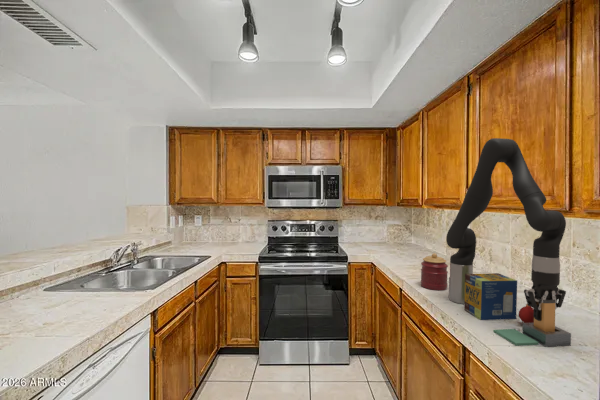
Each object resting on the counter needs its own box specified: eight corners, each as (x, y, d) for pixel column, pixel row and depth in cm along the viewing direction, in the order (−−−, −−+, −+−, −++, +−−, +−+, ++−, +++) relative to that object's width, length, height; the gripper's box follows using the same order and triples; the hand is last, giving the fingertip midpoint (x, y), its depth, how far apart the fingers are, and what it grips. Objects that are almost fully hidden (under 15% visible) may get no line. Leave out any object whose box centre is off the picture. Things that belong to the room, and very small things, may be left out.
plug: (533, 334, 107) (534, 296, 107) (544, 333, 108) (544, 296, 108) (543, 339, 103) (544, 300, 103) (554, 338, 104) (555, 300, 104)
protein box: (463, 310, 131) (464, 273, 130) (497, 309, 132) (498, 272, 132) (480, 320, 120) (481, 280, 120) (517, 319, 122) (518, 279, 121)
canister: (442, 283, 169) (443, 251, 168) (451, 291, 156) (452, 256, 155) (417, 282, 170) (418, 250, 169) (424, 290, 157) (425, 255, 156)
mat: (493, 331, 110) (493, 329, 110) (514, 331, 111) (514, 328, 111) (515, 345, 100) (516, 343, 100) (538, 344, 101) (538, 342, 101)
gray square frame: (522, 334, 109) (522, 322, 109) (545, 333, 110) (546, 321, 110) (545, 346, 100) (545, 334, 100) (570, 345, 101) (571, 333, 101)
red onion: (529, 322, 119) (530, 301, 119) (541, 328, 113) (542, 306, 113) (514, 322, 119) (515, 301, 119) (526, 328, 113) (526, 307, 113)
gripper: (554, 266, 110) (552, 314, 110) (517, 267, 108) (515, 316, 108) (575, 271, 102) (573, 323, 103) (535, 272, 101) (534, 325, 101)
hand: (544, 319), depth 105 cm, fingers closed on plug, 4 cm apart
